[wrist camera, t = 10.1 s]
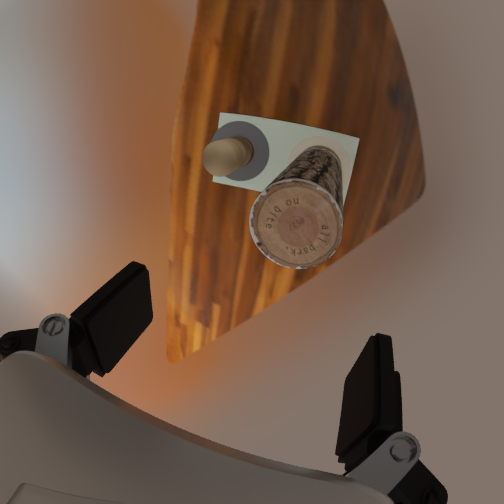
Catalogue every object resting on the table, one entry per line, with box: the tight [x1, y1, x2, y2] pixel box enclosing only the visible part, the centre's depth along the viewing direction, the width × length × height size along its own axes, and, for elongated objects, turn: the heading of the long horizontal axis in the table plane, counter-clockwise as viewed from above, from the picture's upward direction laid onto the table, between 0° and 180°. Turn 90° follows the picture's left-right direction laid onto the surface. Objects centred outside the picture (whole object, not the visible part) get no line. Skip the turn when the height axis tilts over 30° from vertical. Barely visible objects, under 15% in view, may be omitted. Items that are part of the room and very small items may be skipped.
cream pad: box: [287, 136, 352, 190], centre depth 41 cm, size 10×10×1 cm
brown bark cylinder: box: [249, 145, 343, 269], centre depth 31 cm, size 7×7×25 cm
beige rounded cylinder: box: [202, 136, 254, 177], centre depth 40 cm, size 5×5×8 cm
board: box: [211, 112, 359, 206], centre depth 43 cm, size 12×23×1 cm, turn 82°
